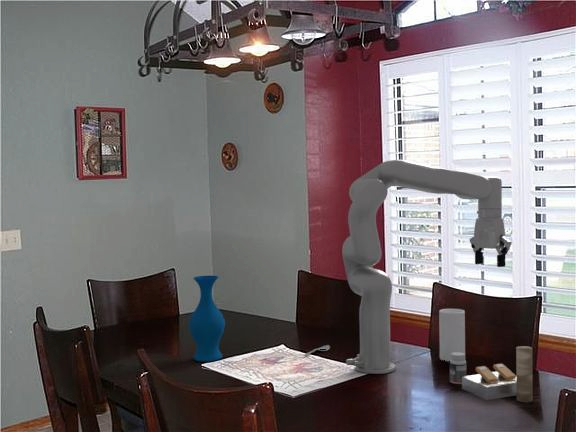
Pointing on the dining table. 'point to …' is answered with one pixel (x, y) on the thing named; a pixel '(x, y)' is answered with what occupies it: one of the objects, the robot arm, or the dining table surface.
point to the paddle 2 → (504, 371)
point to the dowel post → (524, 373)
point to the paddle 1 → (486, 374)
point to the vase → (207, 323)
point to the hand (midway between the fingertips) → (489, 265)
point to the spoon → (319, 349)
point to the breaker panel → (490, 386)
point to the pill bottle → (457, 367)
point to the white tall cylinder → (451, 332)
